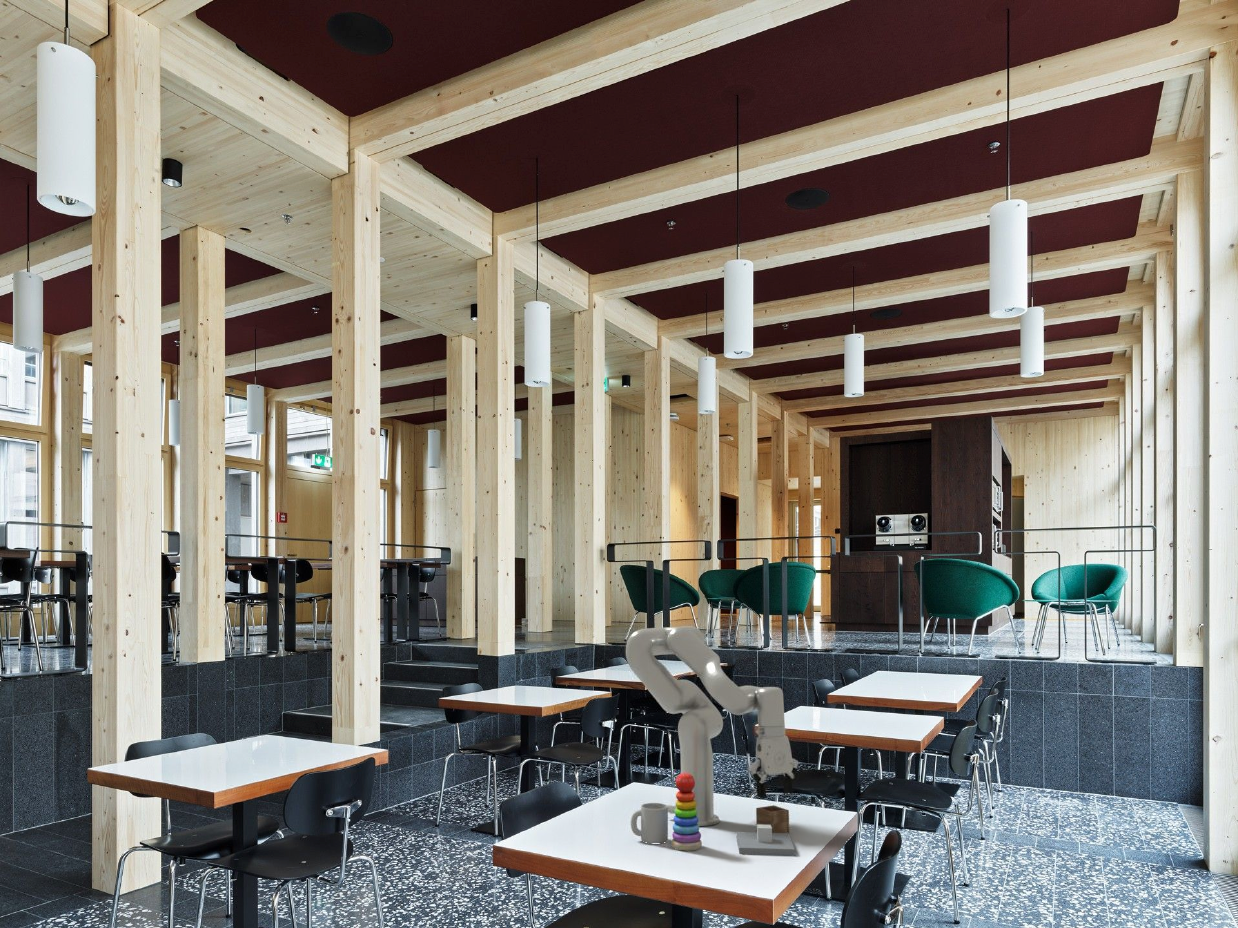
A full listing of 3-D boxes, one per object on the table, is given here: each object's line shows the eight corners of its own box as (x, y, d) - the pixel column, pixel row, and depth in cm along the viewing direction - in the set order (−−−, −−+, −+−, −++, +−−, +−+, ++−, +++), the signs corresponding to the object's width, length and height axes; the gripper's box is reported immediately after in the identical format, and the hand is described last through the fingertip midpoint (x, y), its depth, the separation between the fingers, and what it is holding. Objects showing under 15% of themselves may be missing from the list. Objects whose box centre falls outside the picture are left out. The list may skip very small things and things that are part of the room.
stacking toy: (671, 842, 230) (671, 769, 233) (701, 843, 229) (701, 769, 232) (670, 850, 222) (670, 775, 225) (701, 851, 221) (701, 775, 224)
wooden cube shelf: (771, 835, 237) (770, 812, 238) (756, 830, 243) (756, 807, 243) (789, 832, 240) (788, 809, 241) (774, 827, 246) (773, 805, 247)
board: (739, 853, 220) (739, 832, 221) (736, 837, 235) (736, 818, 236) (794, 855, 219) (794, 834, 220) (788, 839, 234) (788, 819, 234)
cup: (668, 844, 228) (668, 809, 229) (630, 844, 228) (631, 808, 229) (667, 837, 235) (666, 802, 236) (630, 836, 235) (630, 802, 236)
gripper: (756, 736, 238) (759, 801, 235) (803, 730, 246) (807, 793, 244) (739, 733, 244) (742, 796, 241) (786, 727, 253) (789, 788, 250)
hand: (775, 794), depth 242 cm, fingers open, 9 cm apart
